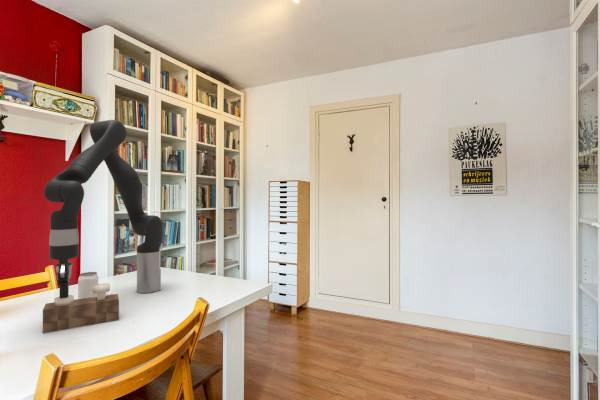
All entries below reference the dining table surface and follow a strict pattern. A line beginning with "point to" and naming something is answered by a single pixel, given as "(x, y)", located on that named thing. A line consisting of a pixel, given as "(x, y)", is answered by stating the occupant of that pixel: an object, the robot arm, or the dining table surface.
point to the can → (87, 284)
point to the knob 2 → (101, 290)
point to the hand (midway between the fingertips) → (64, 297)
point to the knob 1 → (64, 301)
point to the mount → (80, 313)
